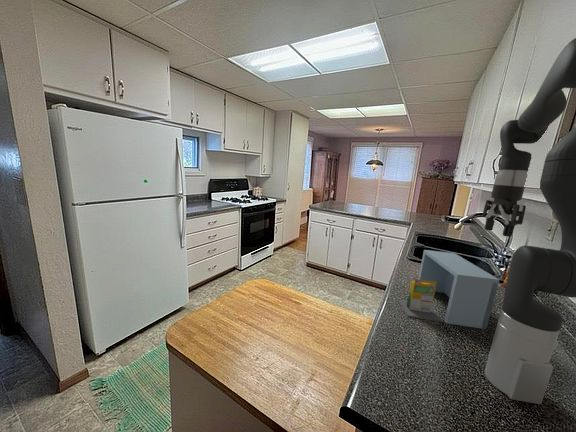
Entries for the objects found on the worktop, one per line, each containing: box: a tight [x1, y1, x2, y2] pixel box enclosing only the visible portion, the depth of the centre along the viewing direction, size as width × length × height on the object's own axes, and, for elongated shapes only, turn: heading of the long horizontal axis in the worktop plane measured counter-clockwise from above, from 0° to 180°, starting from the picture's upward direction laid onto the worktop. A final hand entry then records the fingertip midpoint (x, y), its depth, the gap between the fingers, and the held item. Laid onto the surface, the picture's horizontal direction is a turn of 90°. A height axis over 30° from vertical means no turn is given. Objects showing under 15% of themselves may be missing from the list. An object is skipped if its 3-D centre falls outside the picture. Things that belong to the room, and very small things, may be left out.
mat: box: [397, 299, 443, 323], centre depth 84 cm, size 10×11×1 cm
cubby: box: [417, 249, 500, 330], centre depth 88 cm, size 25×12×17 cm, turn 172°
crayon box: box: [406, 278, 437, 313], centre depth 83 cm, size 7×3×12 cm, turn 83°
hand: (496, 232), depth 80 cm, fingers open, 8 cm apart
